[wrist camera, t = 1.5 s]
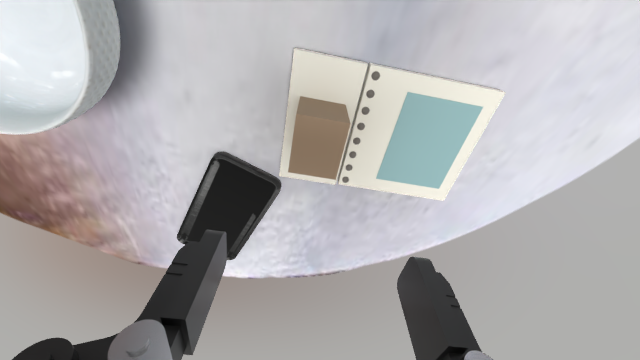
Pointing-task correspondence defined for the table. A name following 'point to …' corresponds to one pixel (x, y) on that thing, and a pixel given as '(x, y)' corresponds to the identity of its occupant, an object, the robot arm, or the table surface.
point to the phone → (229, 202)
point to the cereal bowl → (54, 61)
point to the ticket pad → (414, 132)
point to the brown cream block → (319, 114)
